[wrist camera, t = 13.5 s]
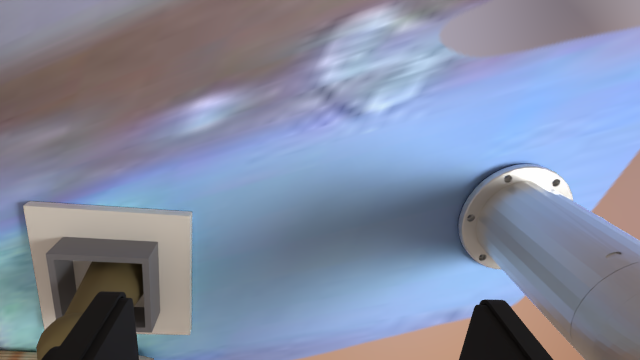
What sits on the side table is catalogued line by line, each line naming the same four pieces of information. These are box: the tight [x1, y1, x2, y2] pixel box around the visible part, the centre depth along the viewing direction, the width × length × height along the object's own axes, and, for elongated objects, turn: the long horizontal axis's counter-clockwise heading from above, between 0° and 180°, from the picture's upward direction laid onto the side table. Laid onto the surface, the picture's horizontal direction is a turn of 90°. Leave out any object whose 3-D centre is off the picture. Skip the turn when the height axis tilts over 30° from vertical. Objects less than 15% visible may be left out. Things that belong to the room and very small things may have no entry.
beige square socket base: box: [23, 201, 192, 335], centre depth 38 cm, size 15×15×4 cm
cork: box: [36, 262, 144, 360], centre depth 34 cm, size 6×6×11 cm
